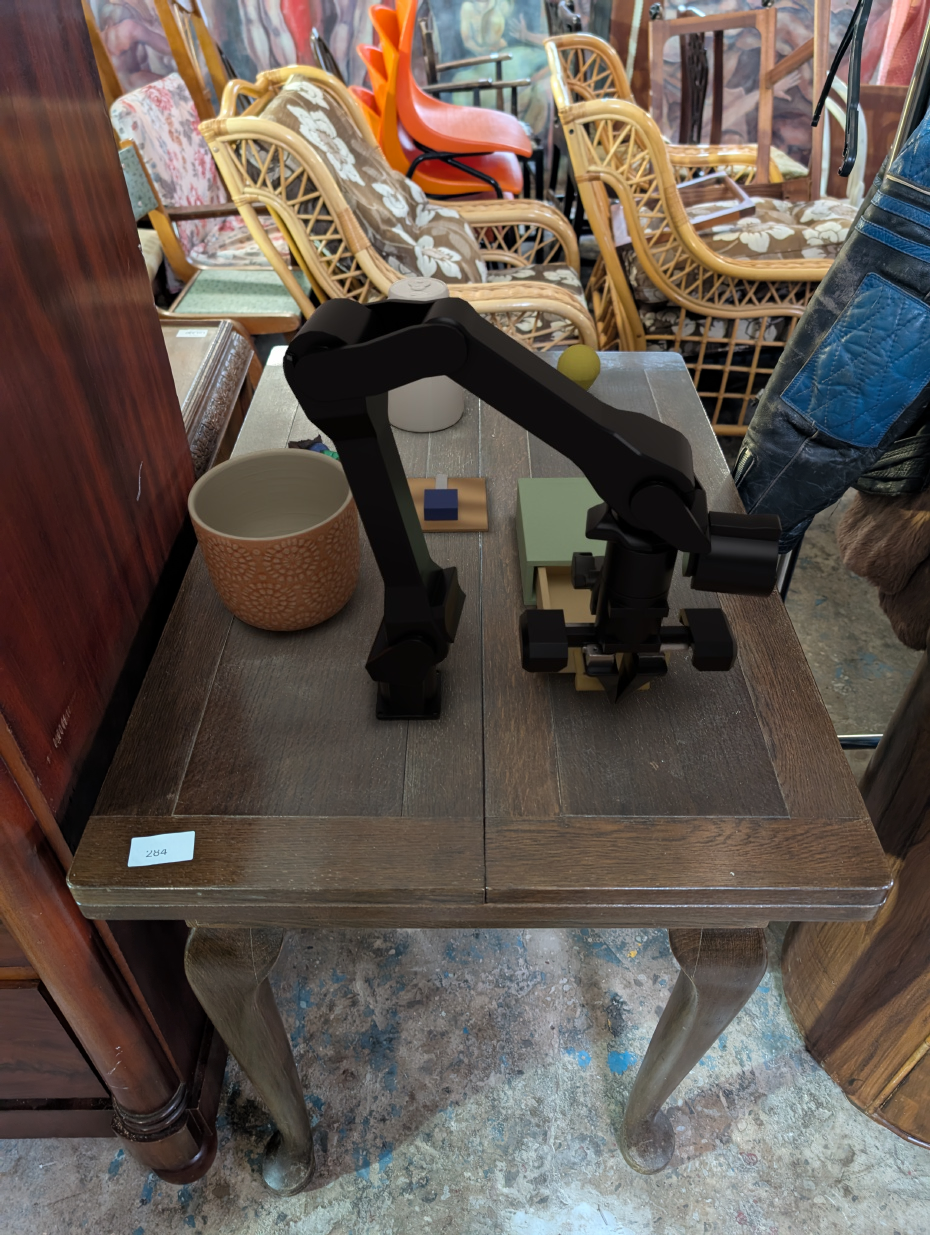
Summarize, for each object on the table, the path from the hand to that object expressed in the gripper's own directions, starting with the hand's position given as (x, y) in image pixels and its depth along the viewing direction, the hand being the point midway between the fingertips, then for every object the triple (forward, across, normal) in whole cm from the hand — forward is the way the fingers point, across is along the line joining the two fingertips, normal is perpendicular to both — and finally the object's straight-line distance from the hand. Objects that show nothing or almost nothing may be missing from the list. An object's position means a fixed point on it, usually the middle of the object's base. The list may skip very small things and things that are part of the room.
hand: (613, 701), depth 77 cm
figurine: (+3, +32, -42) cm, 53 cm away
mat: (+3, +17, -38) cm, 41 cm away
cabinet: (+3, 0, -26) cm, 26 cm away
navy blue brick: (+2, +17, -38) cm, 42 cm away
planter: (+3, +34, -18) cm, 39 cm away
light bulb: (+3, -4, -65) cm, 65 cm away
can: (+3, +20, -63) cm, 66 cm away
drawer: (+2, 0, -11) cm, 11 cm away
